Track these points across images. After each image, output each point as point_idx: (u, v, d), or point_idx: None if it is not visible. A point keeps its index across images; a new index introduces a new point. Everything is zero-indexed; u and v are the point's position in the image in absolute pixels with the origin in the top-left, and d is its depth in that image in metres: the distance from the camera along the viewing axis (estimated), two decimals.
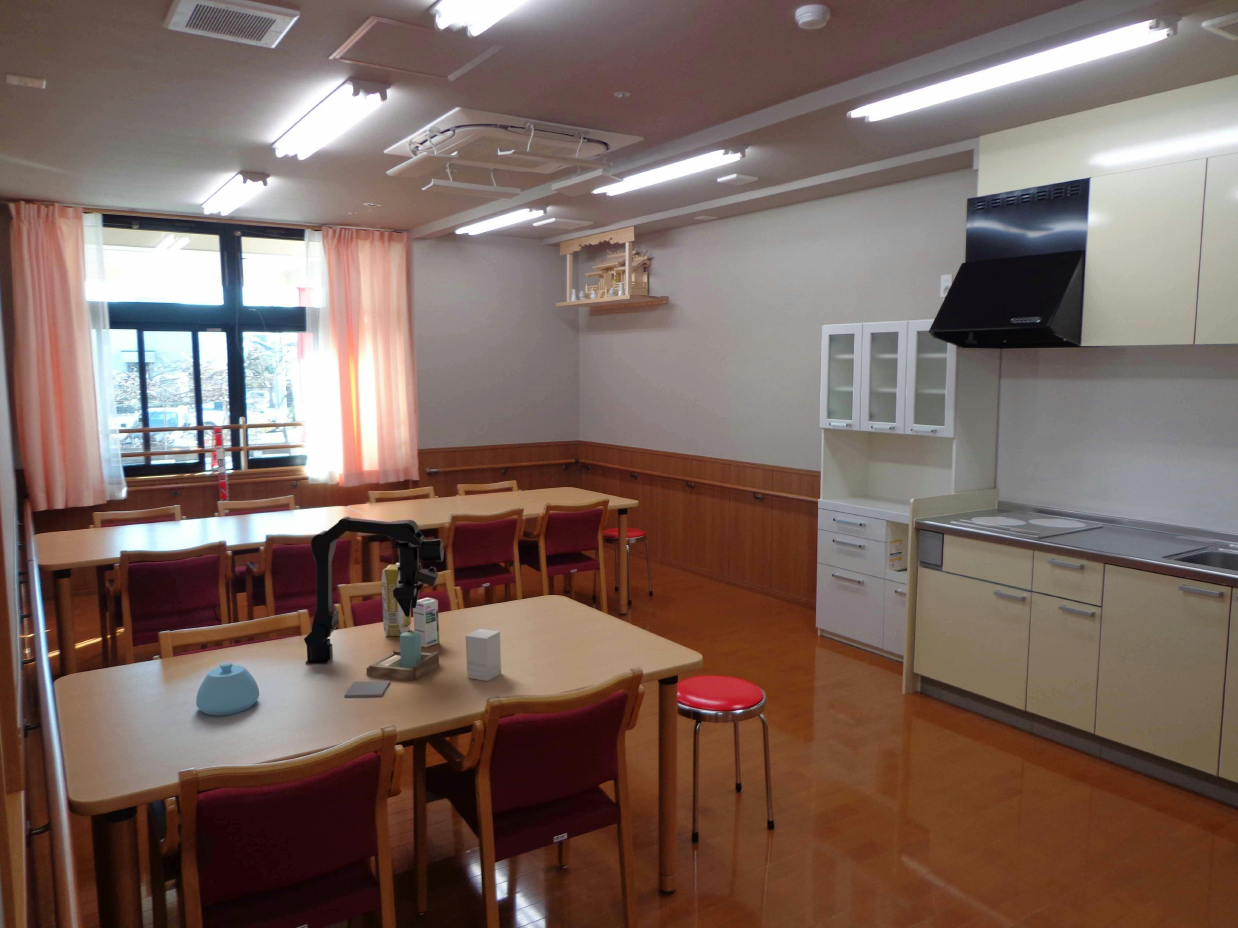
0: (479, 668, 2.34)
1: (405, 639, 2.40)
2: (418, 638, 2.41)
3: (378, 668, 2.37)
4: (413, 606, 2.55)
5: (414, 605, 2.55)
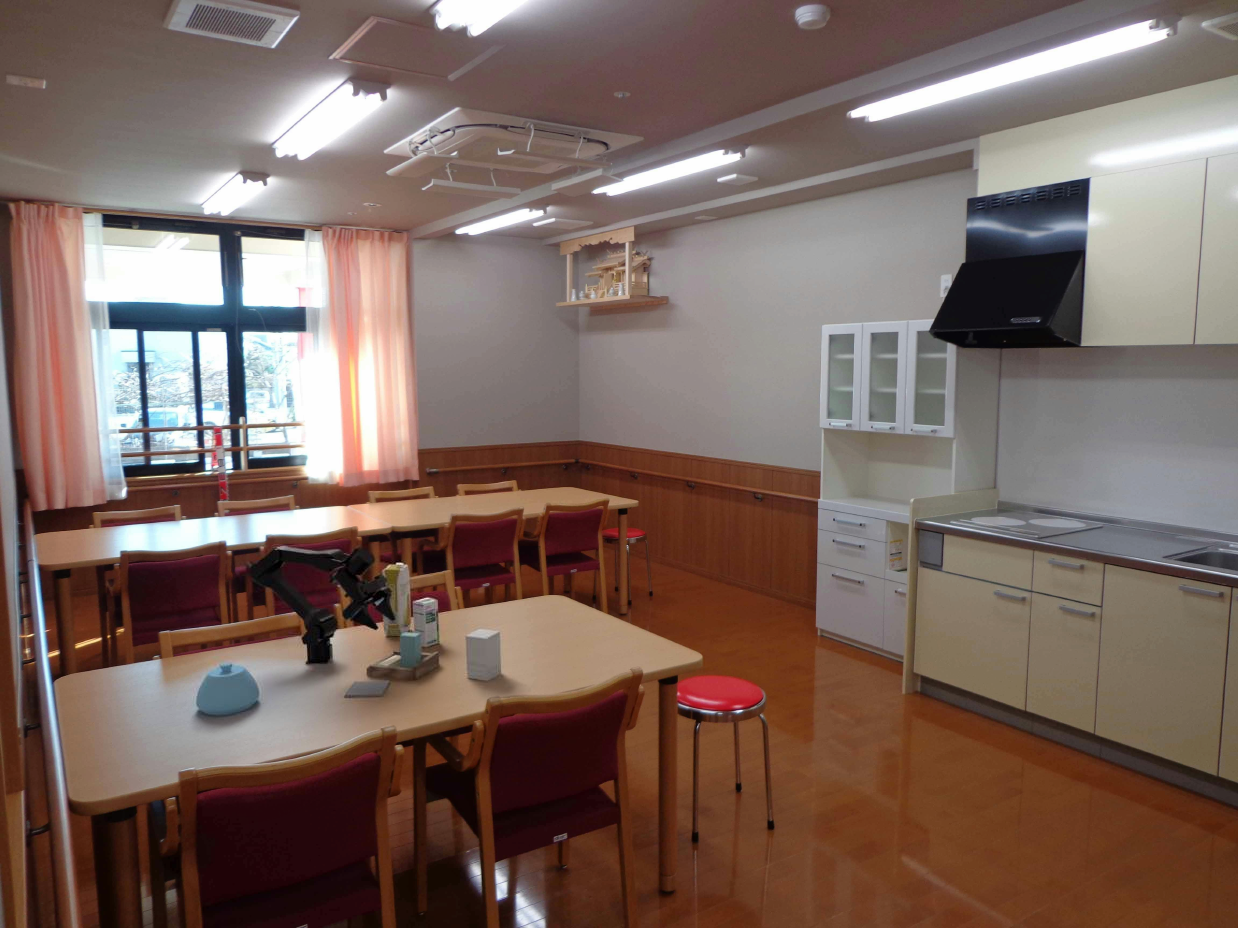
0: (479, 668, 2.34)
1: (405, 639, 2.40)
2: (418, 638, 2.41)
3: (378, 668, 2.37)
4: (392, 619, 2.48)
5: (392, 617, 2.48)
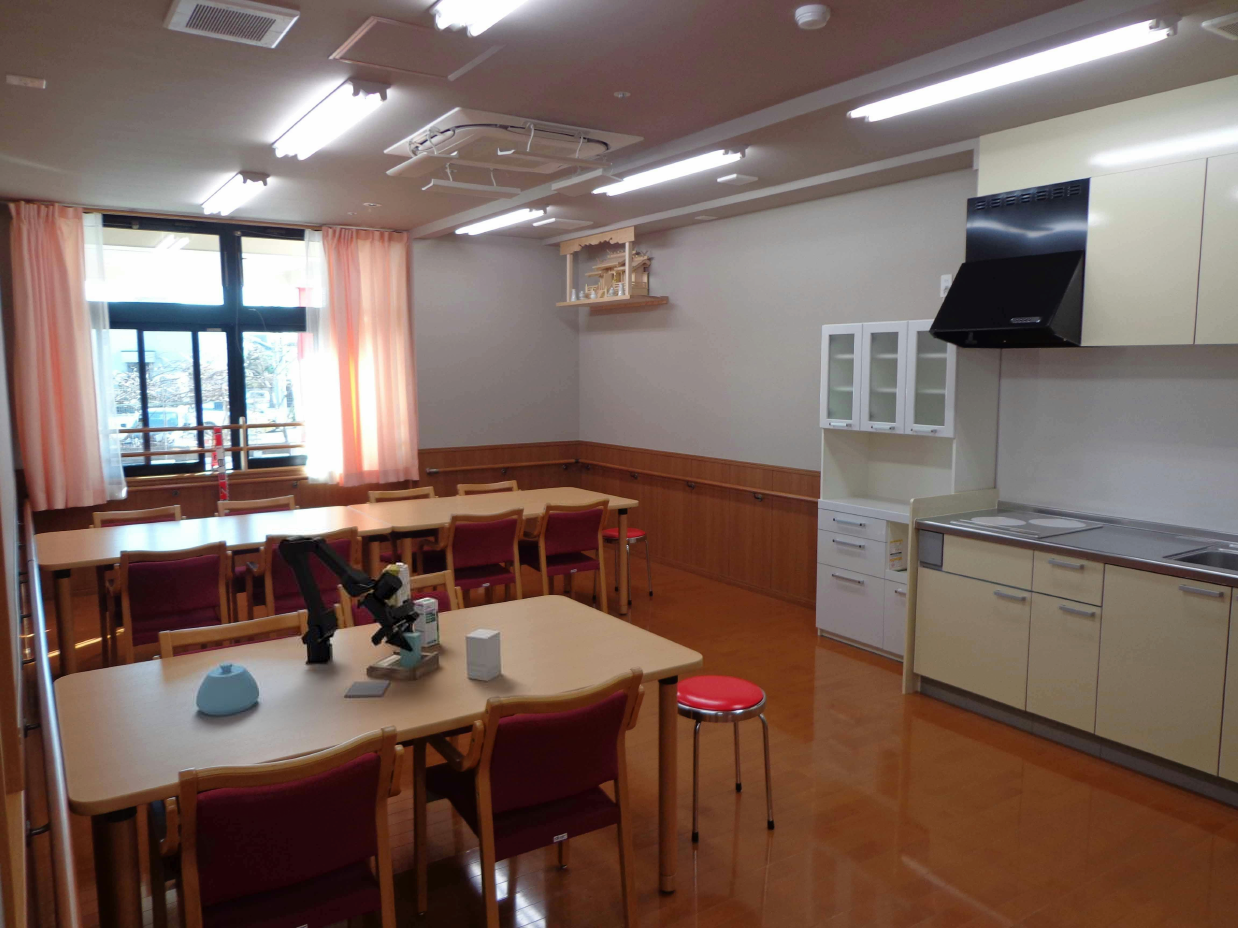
0: (479, 668, 2.34)
1: None
2: (418, 638, 2.41)
3: (378, 668, 2.37)
4: None
5: None
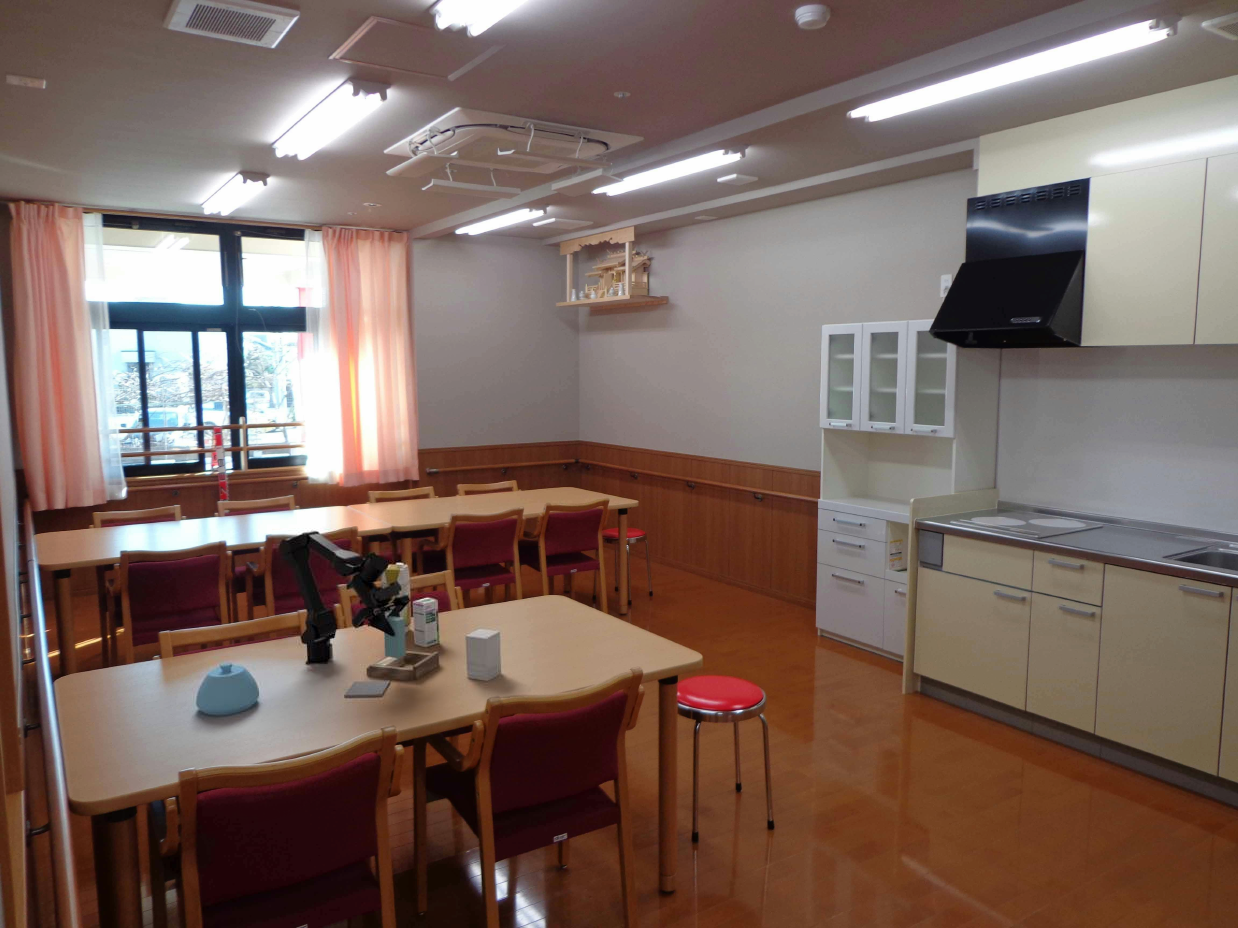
0: (479, 668, 2.34)
1: (389, 623, 2.33)
2: (402, 623, 2.33)
3: (378, 668, 2.37)
4: None
5: None
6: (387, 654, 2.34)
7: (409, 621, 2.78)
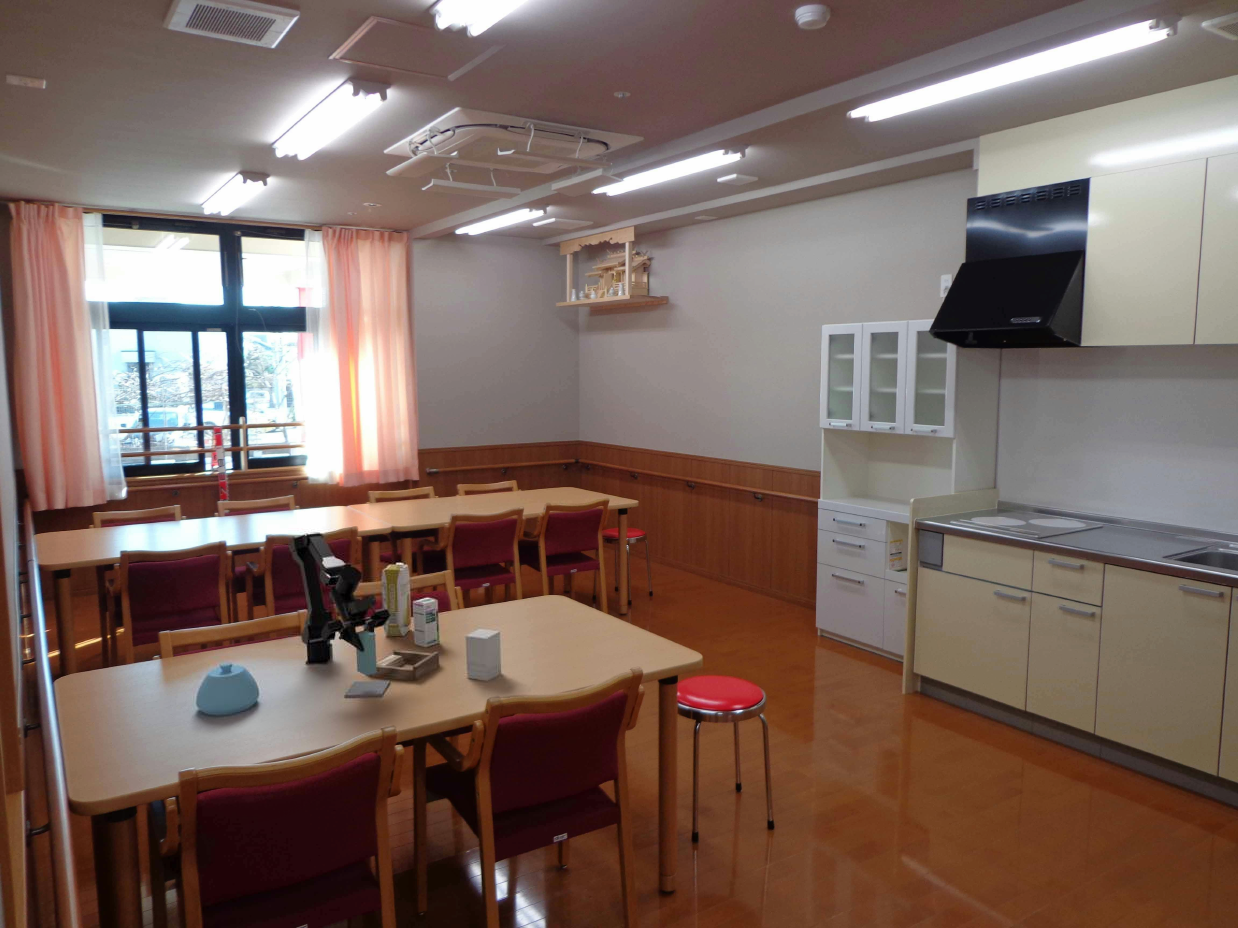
0: (479, 668, 2.34)
1: (359, 637, 2.25)
2: (371, 638, 2.24)
3: (378, 668, 2.37)
4: None
5: None
6: (359, 669, 2.27)
7: (409, 621, 2.78)
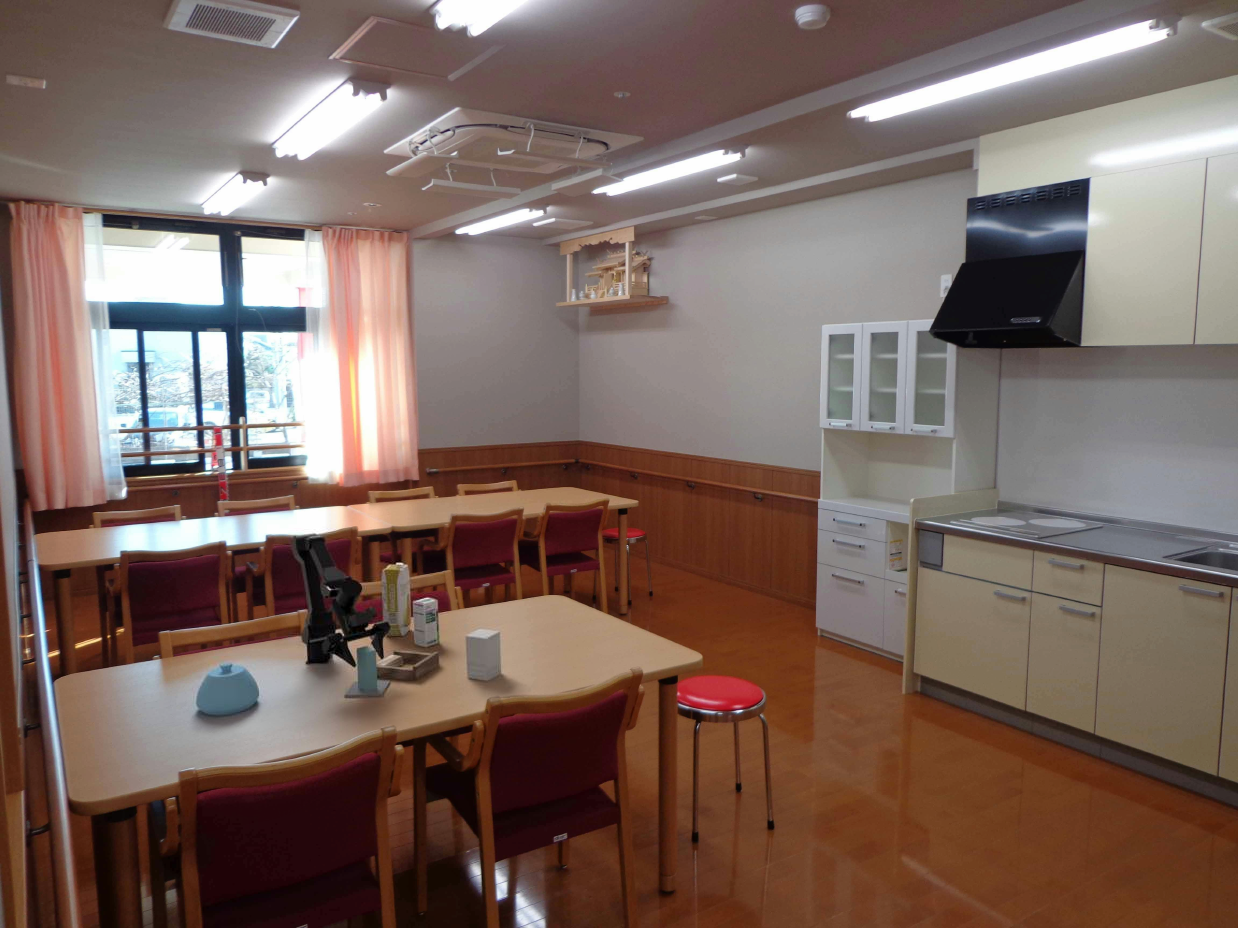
0: (479, 668, 2.34)
1: (360, 653, 2.26)
2: (372, 655, 2.25)
3: (378, 668, 2.37)
4: (381, 657, 2.29)
5: (381, 655, 2.29)
6: (360, 685, 2.27)
7: (409, 621, 2.78)
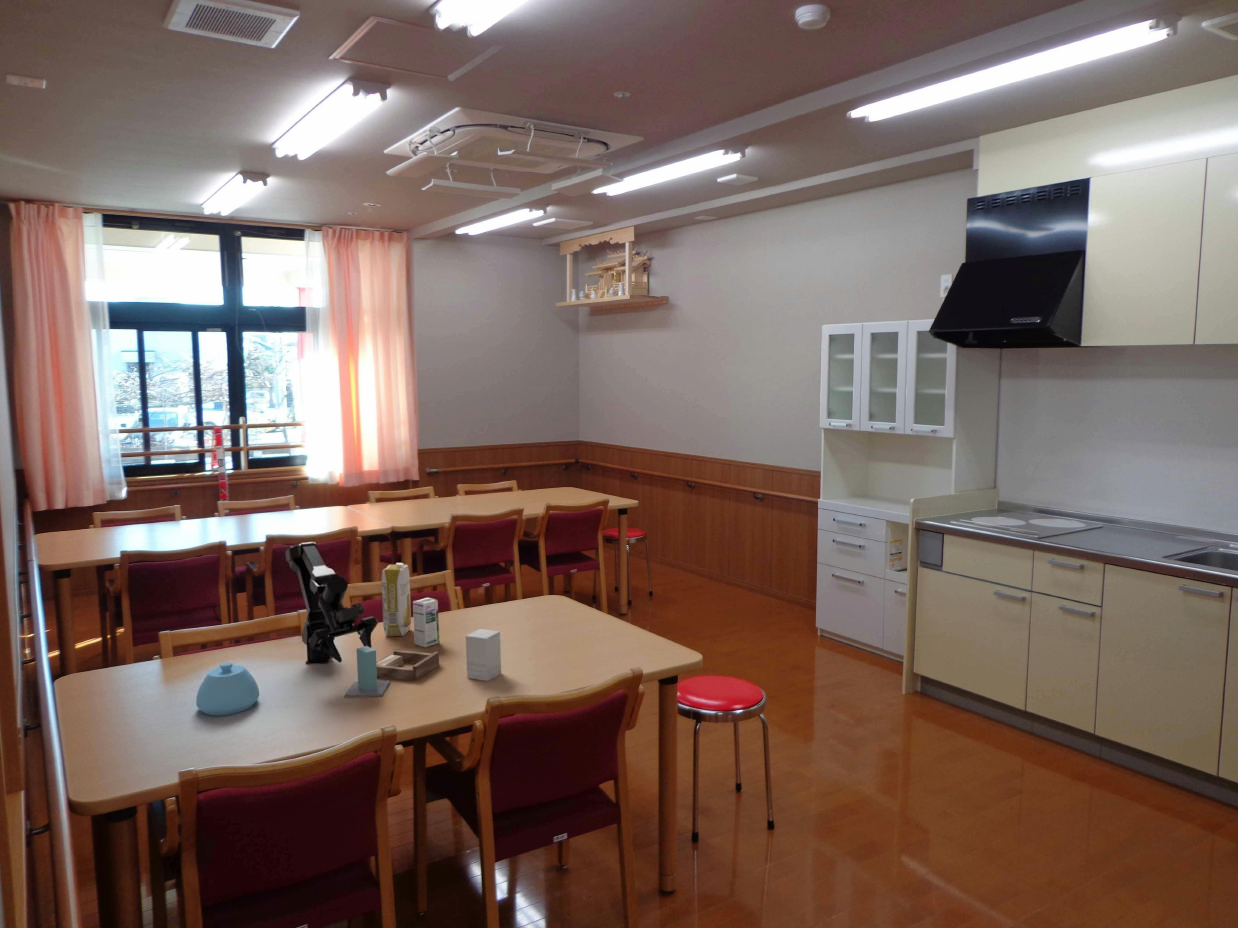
0: (479, 668, 2.34)
1: (360, 653, 2.26)
2: (372, 655, 2.25)
3: (378, 668, 2.37)
4: None
5: None
6: (360, 685, 2.27)
7: (409, 621, 2.78)
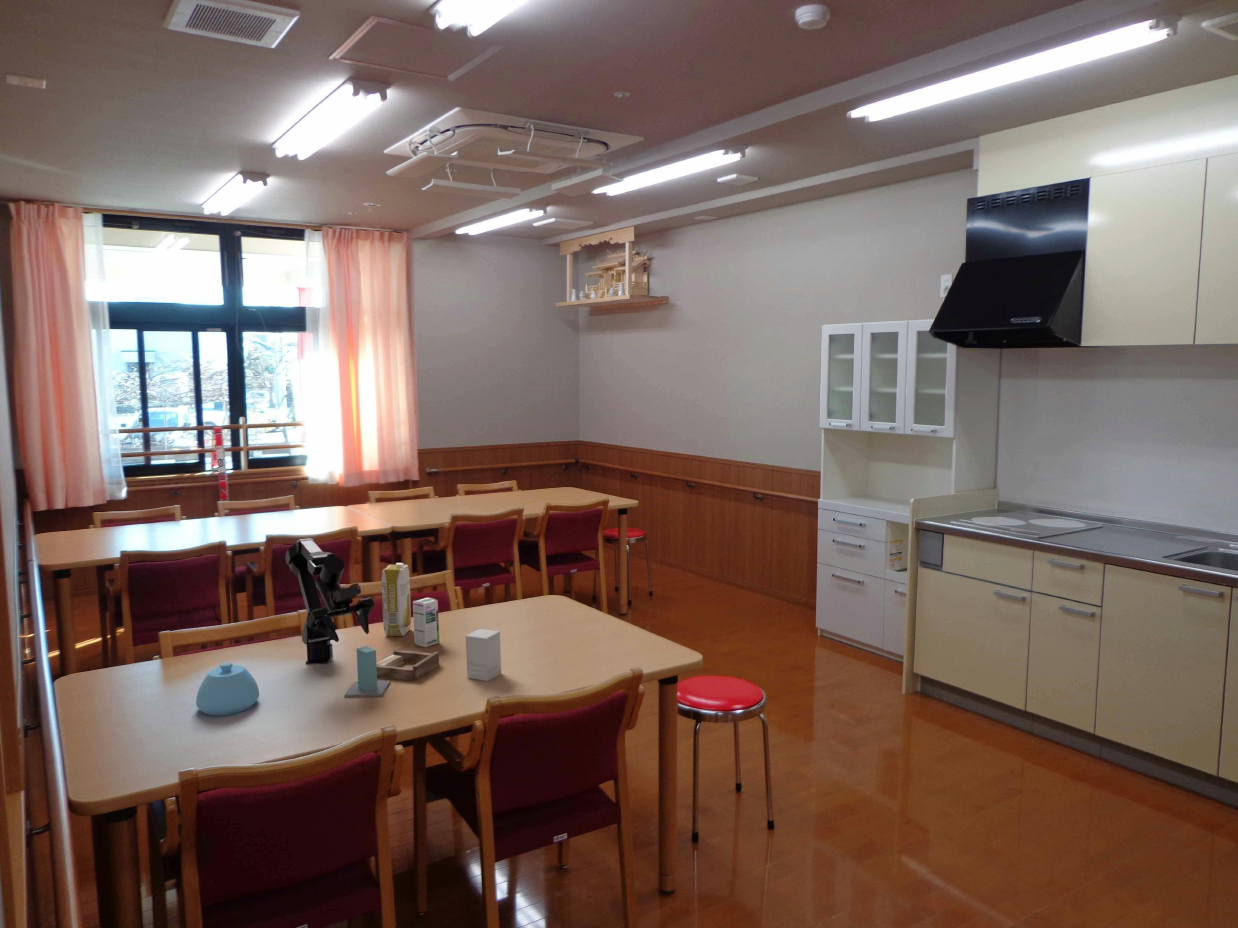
0: (479, 668, 2.34)
1: (360, 653, 2.26)
2: (372, 655, 2.25)
3: (378, 668, 2.37)
4: (366, 632, 2.34)
5: (366, 630, 2.34)
6: (360, 685, 2.27)
7: (409, 621, 2.78)
